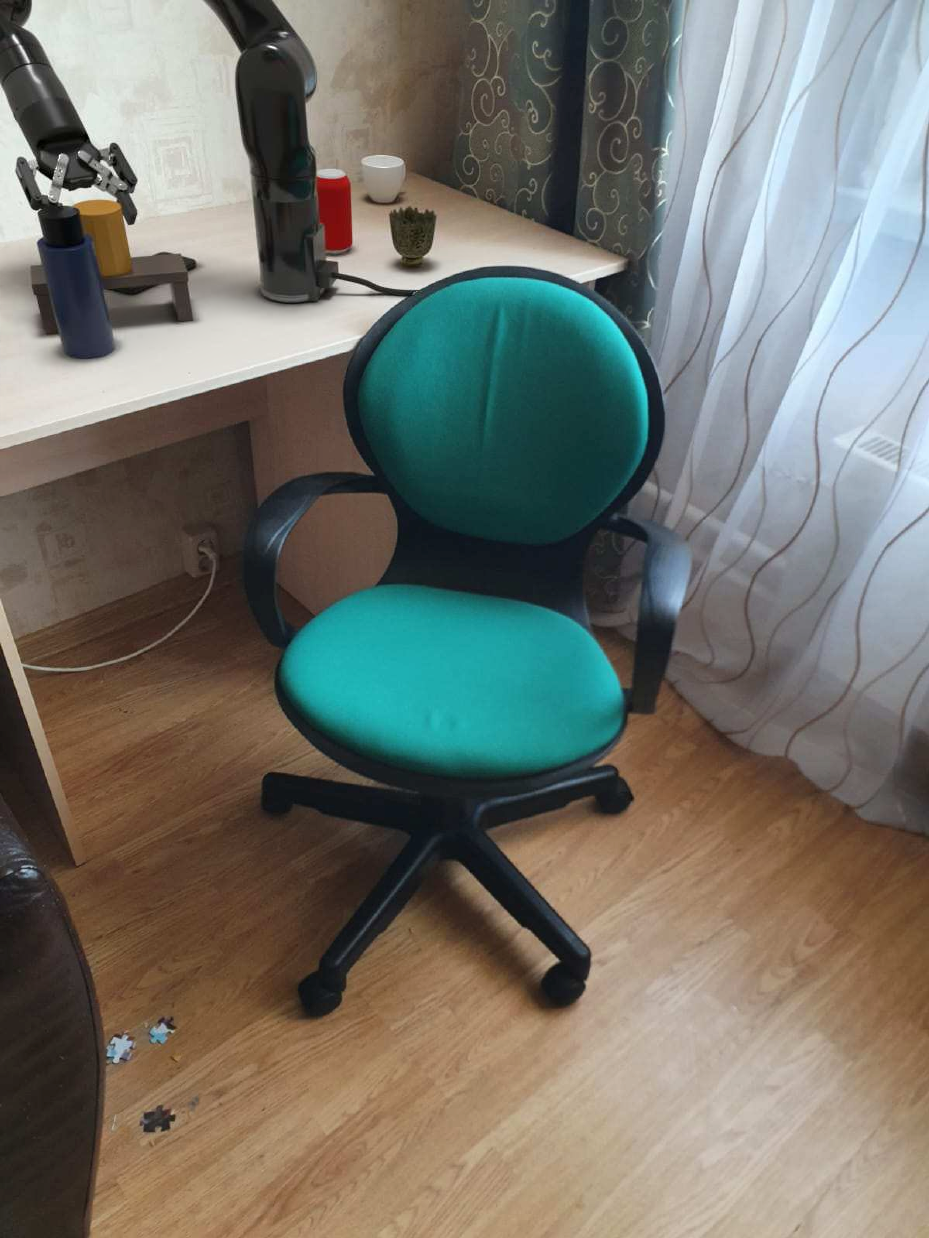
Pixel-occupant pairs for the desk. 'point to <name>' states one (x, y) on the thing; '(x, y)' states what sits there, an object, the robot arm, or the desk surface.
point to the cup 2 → (412, 234)
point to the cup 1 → (383, 177)
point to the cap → (106, 235)
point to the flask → (74, 284)
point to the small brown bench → (127, 284)
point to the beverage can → (335, 209)
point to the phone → (188, 263)
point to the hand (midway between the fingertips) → (102, 228)
